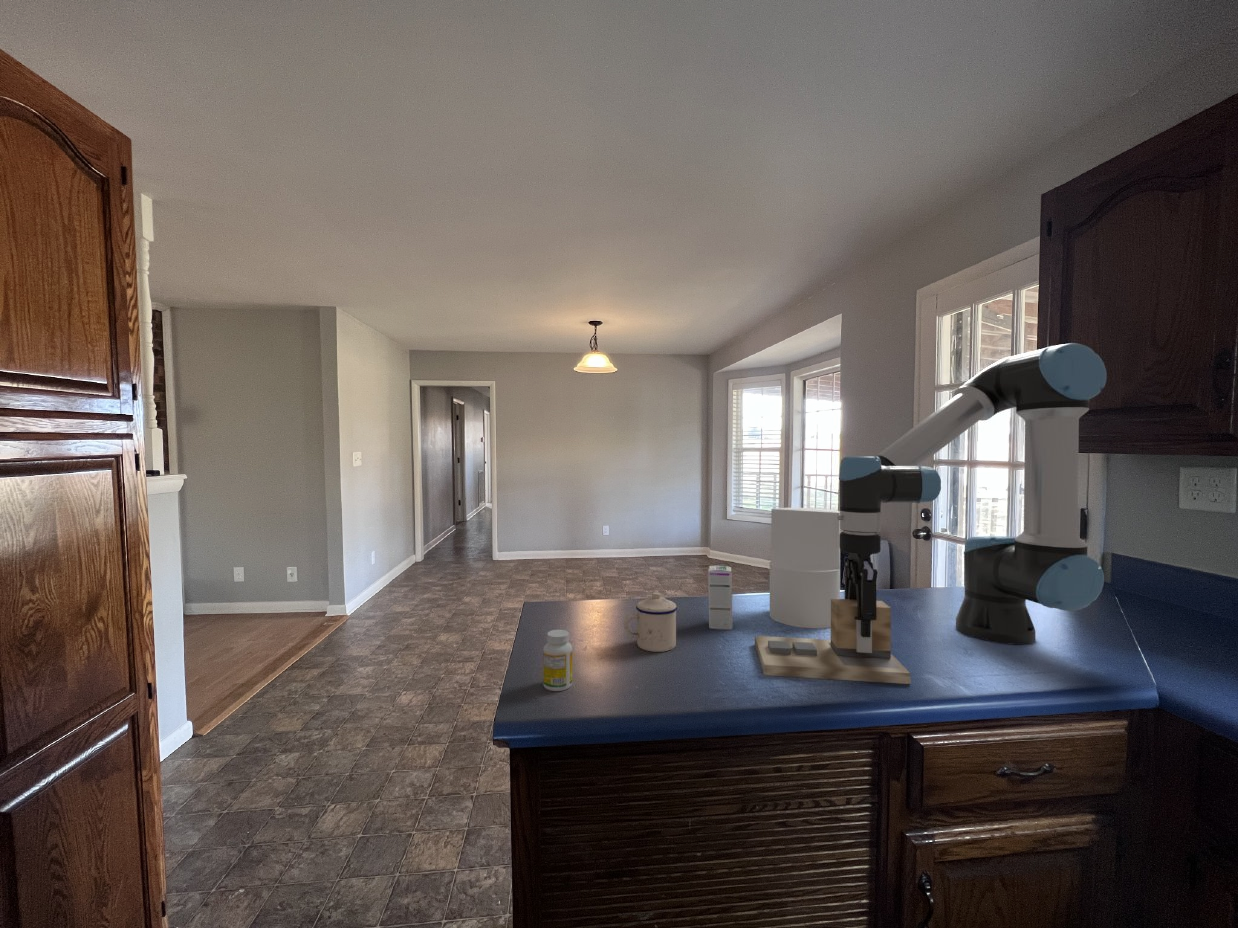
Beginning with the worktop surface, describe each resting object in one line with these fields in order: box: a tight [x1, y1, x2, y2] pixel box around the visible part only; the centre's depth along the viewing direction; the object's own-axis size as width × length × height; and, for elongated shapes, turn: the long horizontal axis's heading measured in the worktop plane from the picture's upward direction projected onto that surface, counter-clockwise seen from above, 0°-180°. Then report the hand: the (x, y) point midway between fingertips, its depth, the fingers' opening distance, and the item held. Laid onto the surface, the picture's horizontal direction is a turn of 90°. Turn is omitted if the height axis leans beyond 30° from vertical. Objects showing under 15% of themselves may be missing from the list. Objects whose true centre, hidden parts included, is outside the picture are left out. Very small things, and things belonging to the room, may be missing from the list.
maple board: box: [754, 635, 911, 685], centre depth 102 cm, size 26×16×2 cm, turn 81°
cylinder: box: [769, 507, 841, 630], centre depth 131 cm, size 17×17×28 cm
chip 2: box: [792, 642, 817, 656], centre depth 103 cm, size 4×4×1 cm
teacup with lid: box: [623, 591, 678, 653], centre depth 111 cm, size 12×9×12 cm
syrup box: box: [707, 565, 733, 631], centre depth 125 cm, size 6×6×14 cm
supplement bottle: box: [542, 629, 573, 692], centre depth 92 cm, size 5×5×10 cm
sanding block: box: [830, 598, 892, 659], centre depth 102 cm, size 10×5×10 cm, turn 81°
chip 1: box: [768, 641, 791, 655], centre depth 103 cm, size 4×4×1 cm
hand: (859, 646), depth 102 cm, fingers closed on sanding block, 5 cm apart
